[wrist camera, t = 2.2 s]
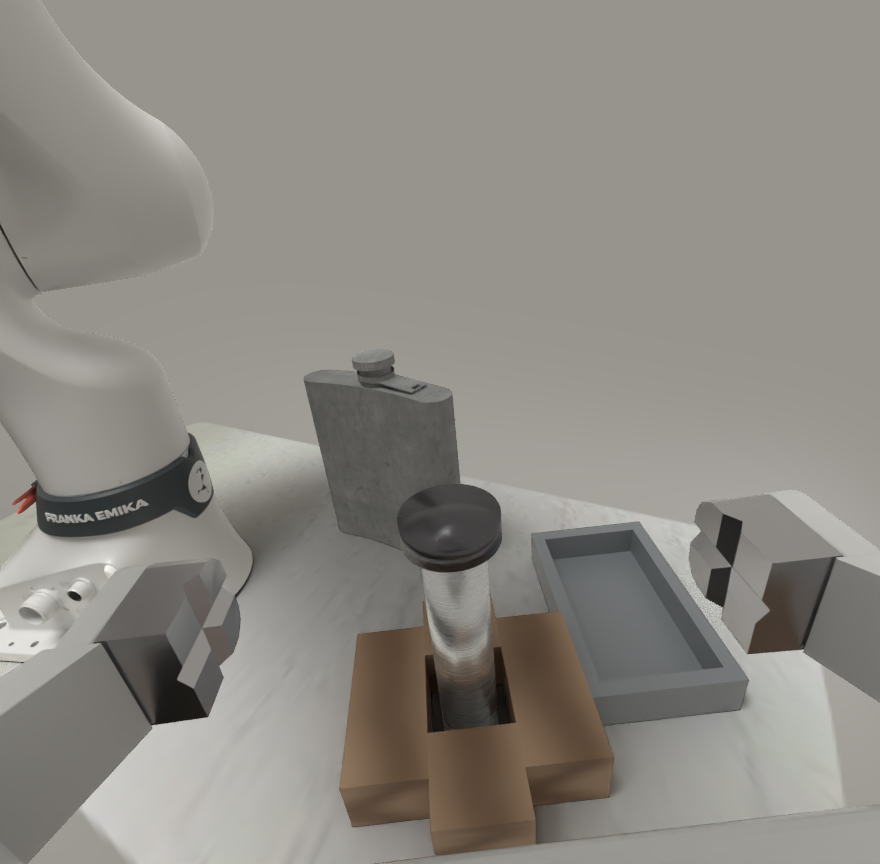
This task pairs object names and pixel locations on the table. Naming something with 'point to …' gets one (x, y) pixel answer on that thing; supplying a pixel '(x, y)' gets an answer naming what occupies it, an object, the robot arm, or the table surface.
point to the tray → (634, 626)
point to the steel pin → (457, 593)
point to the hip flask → (380, 441)
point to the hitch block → (472, 738)
